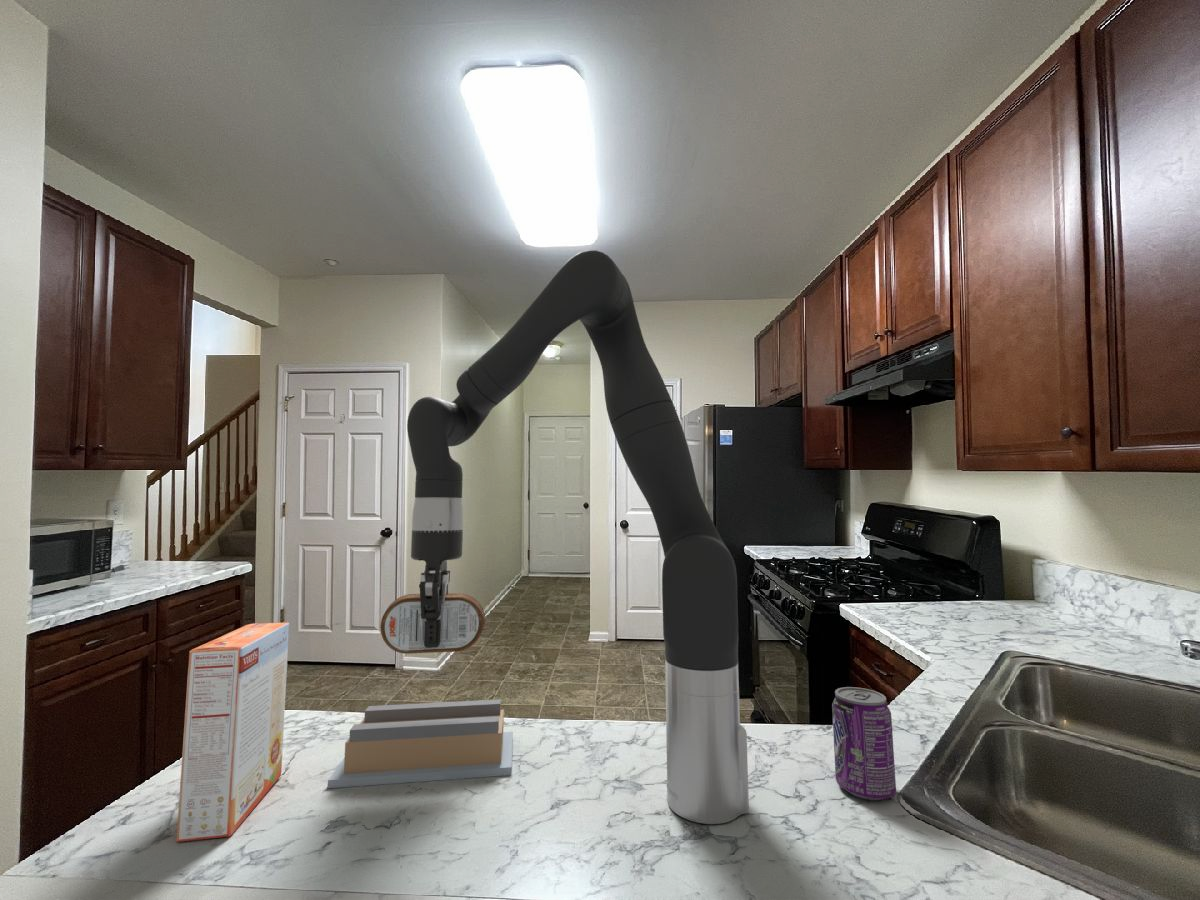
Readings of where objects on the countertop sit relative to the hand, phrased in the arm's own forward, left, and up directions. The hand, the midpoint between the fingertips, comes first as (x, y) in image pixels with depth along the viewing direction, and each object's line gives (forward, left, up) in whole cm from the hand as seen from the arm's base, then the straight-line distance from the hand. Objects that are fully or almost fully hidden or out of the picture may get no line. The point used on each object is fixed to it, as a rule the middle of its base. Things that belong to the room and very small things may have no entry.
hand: (433, 643), depth 79 cm
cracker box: (+22, +9, -17) cm, 29 cm away
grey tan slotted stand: (0, 0, -17) cm, 17 cm away
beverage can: (-58, +17, -17) cm, 63 cm away
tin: (0, 0, -1) cm, 1 cm away
